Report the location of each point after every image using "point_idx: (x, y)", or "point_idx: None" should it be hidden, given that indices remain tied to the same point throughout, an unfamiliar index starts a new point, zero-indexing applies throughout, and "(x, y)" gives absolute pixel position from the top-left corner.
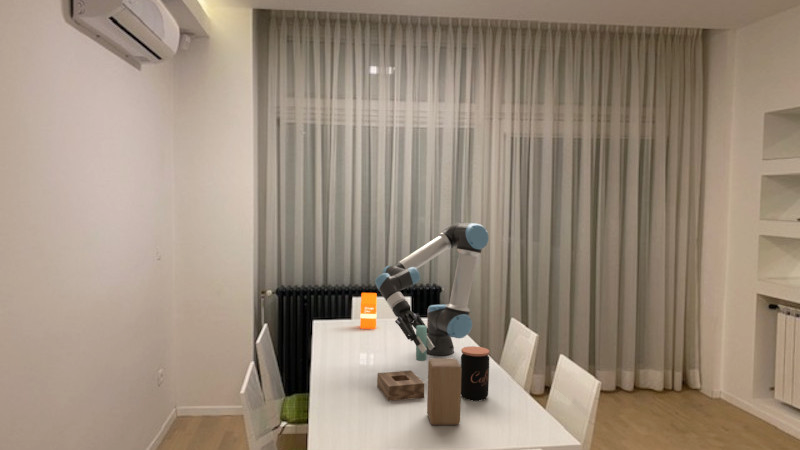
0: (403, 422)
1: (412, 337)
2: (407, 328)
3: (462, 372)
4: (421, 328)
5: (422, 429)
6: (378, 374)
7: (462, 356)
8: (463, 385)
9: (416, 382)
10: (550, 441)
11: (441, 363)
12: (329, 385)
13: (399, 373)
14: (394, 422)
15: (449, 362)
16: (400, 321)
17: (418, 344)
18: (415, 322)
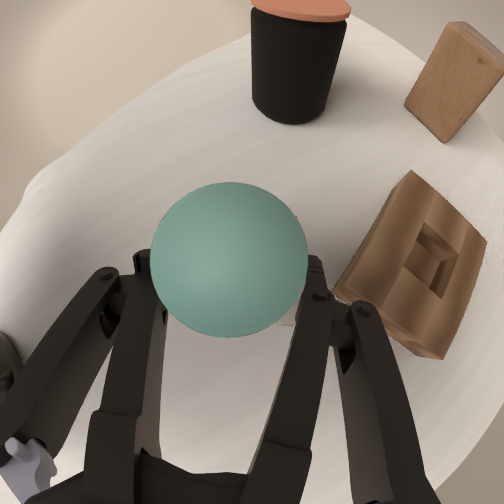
0: (485, 169)
1: (344, 308)
2: (382, 379)
3: (334, 66)
4: (289, 218)
5: (473, 134)
6: (449, 346)
7: (340, 29)
8: (329, 89)
9: (423, 192)
10: (355, 18)
11: (492, 46)
12: (459, 441)
13: (404, 296)
14: (494, 182)
15: (475, 33)
16: (427, 489)
17: (315, 260)
18: (144, 412)
